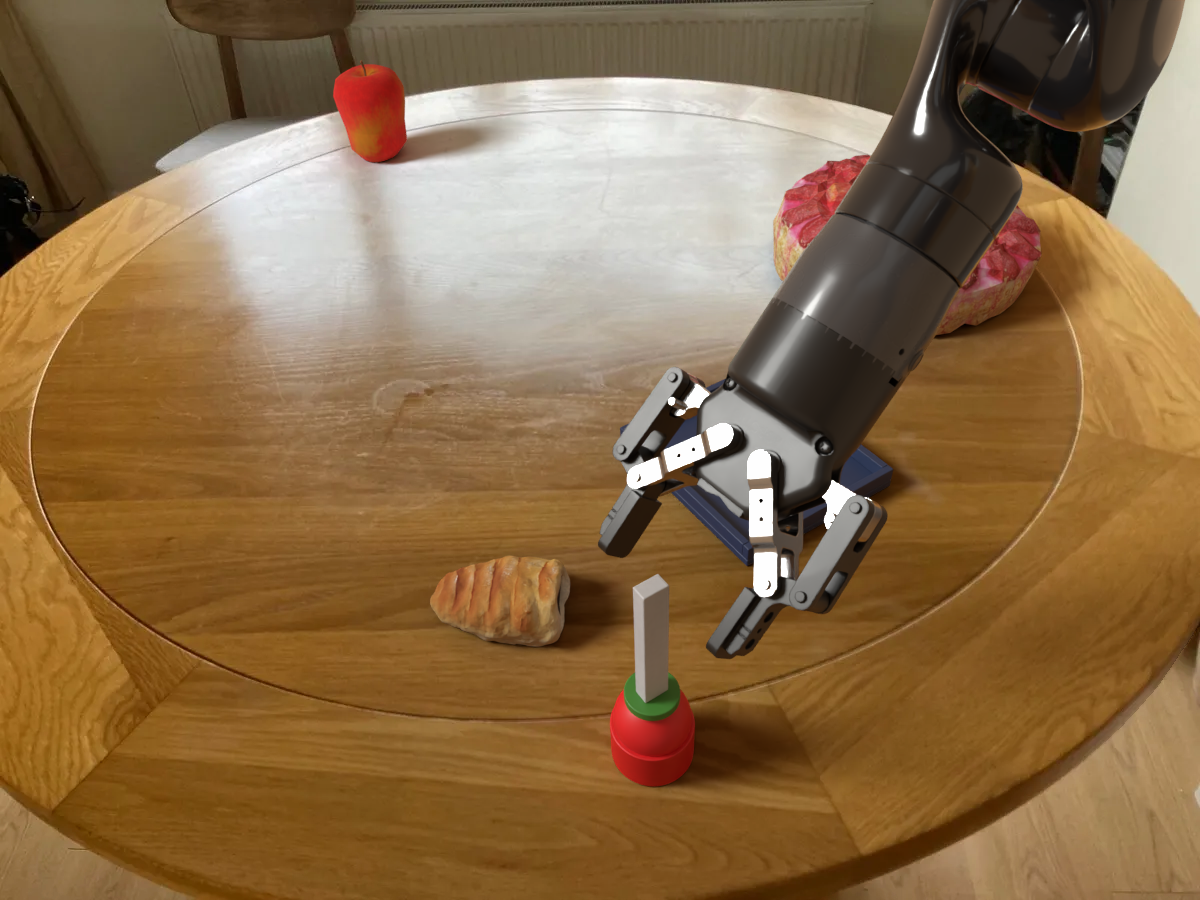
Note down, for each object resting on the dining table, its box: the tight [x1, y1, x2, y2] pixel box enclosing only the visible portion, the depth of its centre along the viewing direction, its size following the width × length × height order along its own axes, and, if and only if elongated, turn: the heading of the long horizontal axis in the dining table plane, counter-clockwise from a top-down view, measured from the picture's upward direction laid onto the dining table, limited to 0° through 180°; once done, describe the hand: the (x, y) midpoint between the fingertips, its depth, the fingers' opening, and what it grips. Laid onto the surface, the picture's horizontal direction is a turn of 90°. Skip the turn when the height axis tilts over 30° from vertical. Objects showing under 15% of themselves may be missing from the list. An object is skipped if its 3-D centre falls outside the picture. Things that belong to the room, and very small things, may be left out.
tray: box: [619, 378, 894, 567], centre depth 76 cm, size 16×14×2 cm
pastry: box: [429, 555, 571, 648], centre depth 65 cm, size 9×7×4 cm
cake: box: [772, 154, 1042, 336], centre depth 94 cm, size 25×25×8 cm
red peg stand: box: [609, 573, 696, 787], centre depth 53 cm, size 5×5×15 cm
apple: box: [332, 59, 408, 163], centre depth 117 cm, size 9×8×12 cm
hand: (662, 601), depth 49 cm, fingers open, 8 cm apart
